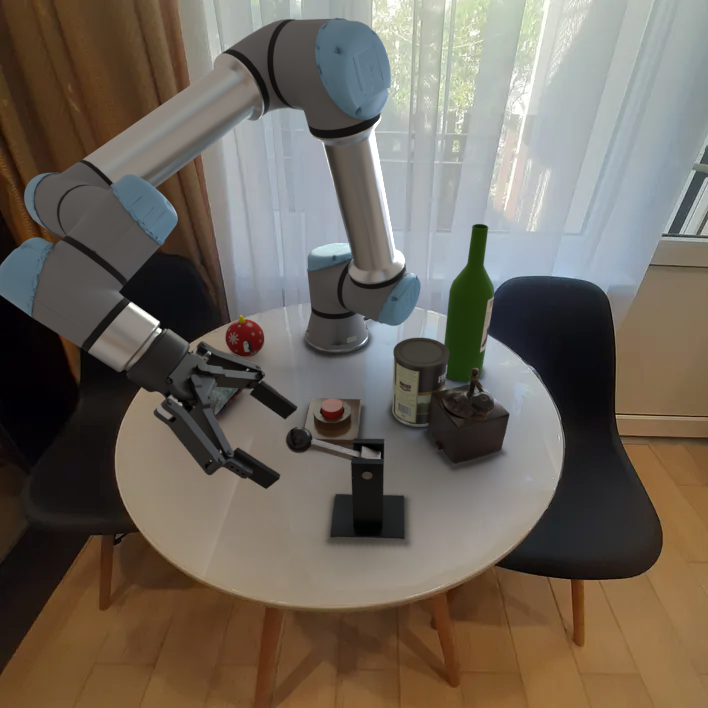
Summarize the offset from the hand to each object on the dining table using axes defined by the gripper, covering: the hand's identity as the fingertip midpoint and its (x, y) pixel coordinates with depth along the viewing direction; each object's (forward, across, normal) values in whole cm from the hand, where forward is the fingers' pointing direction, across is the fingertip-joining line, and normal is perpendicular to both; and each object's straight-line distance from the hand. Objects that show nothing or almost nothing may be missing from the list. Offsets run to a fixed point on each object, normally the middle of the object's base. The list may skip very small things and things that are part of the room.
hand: (283, 444), depth 67 cm
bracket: (+19, 0, -3) cm, 19 cm away
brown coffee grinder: (+32, -15, +10) cm, 37 cm away
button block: (+14, -22, -8) cm, 27 cm away
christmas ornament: (-2, -47, -24) cm, 53 cm away
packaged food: (-4, -29, -26) cm, 39 cm away
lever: (+6, 0, +3) cm, 7 cm away
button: (+11, -22, -6) cm, 25 cm away
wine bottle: (+33, -42, +11) cm, 54 cm away
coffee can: (+26, -27, +3) cm, 37 cm away
